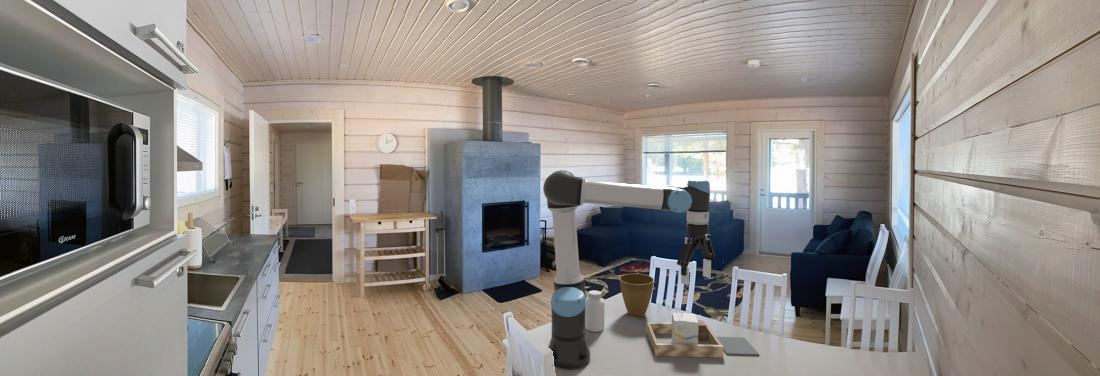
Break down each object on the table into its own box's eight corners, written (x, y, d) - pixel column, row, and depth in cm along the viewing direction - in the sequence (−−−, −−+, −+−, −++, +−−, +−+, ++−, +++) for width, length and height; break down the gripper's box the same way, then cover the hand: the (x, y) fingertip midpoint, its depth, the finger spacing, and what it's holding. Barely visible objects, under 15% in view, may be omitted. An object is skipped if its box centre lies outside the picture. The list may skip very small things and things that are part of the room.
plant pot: (618, 307, 188) (618, 273, 187) (650, 308, 187) (651, 273, 185) (620, 320, 173) (620, 283, 172) (656, 321, 172) (656, 284, 170)
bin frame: (655, 355, 143) (655, 344, 142) (646, 332, 161) (646, 322, 161) (723, 357, 141) (723, 346, 141) (705, 333, 160) (706, 323, 159)
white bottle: (607, 326, 167) (607, 291, 165) (599, 334, 160) (599, 297, 159) (590, 322, 171) (590, 287, 170) (581, 329, 164) (581, 293, 163)
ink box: (698, 354, 143) (699, 322, 142) (673, 352, 145) (674, 320, 144) (694, 343, 152) (695, 313, 151) (671, 341, 153) (671, 311, 152)
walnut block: (694, 340, 154) (694, 325, 154) (690, 335, 159) (691, 320, 158) (706, 340, 154) (706, 325, 153) (702, 335, 158) (703, 320, 158)
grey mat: (726, 354, 143) (726, 353, 143) (714, 338, 156) (714, 336, 156) (759, 355, 142) (759, 354, 142) (744, 338, 155) (744, 337, 155)
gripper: (686, 228, 136) (684, 290, 137) (726, 220, 151) (724, 276, 152) (667, 225, 142) (666, 284, 143) (707, 218, 157) (706, 271, 158)
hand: (696, 280), depth 148 cm, fingers open, 13 cm apart
